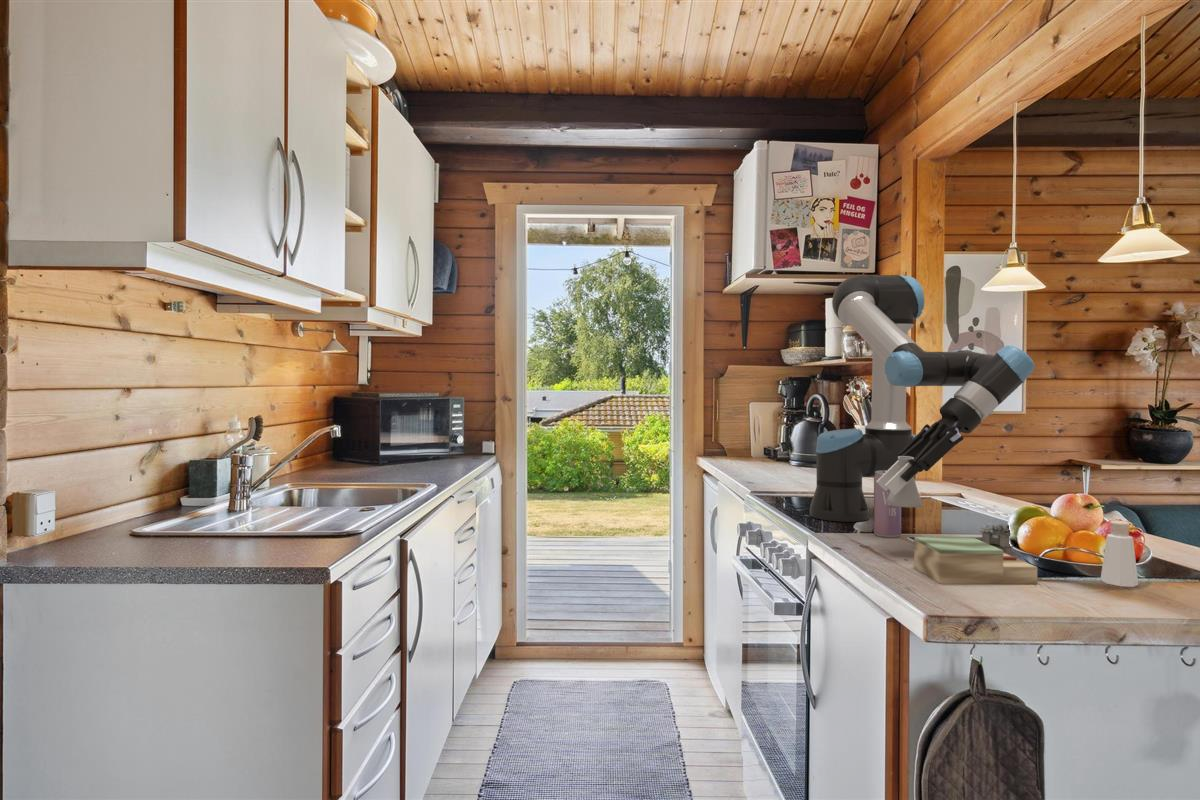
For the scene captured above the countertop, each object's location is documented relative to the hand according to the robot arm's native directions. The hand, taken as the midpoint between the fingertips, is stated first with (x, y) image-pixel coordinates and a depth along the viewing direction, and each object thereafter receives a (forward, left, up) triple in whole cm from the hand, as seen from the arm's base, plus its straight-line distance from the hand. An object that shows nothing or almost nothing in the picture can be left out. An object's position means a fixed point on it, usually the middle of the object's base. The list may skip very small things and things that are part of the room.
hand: (885, 488), depth 144 cm
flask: (0, +4, -4) cm, 5 cm away
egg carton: (-12, +32, -15) cm, 37 cm away
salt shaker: (+20, +34, -14) cm, 42 cm away
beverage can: (-19, +8, -14) cm, 25 cm away
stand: (+15, +10, -14) cm, 23 cm away
